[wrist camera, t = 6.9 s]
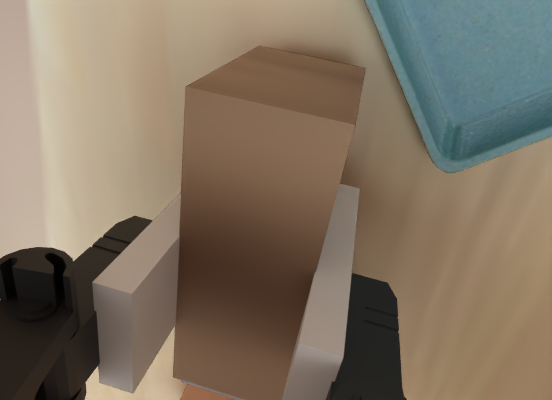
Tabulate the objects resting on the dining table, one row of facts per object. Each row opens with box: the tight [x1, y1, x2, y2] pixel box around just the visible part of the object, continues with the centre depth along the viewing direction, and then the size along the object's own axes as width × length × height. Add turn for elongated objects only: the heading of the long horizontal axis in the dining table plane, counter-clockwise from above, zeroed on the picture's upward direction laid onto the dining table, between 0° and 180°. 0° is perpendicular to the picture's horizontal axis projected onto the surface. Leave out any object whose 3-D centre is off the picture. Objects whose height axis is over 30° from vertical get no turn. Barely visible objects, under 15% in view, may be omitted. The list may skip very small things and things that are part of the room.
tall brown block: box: [173, 46, 365, 400], centre depth 13 cm, size 15×6×5 cm, turn 170°
